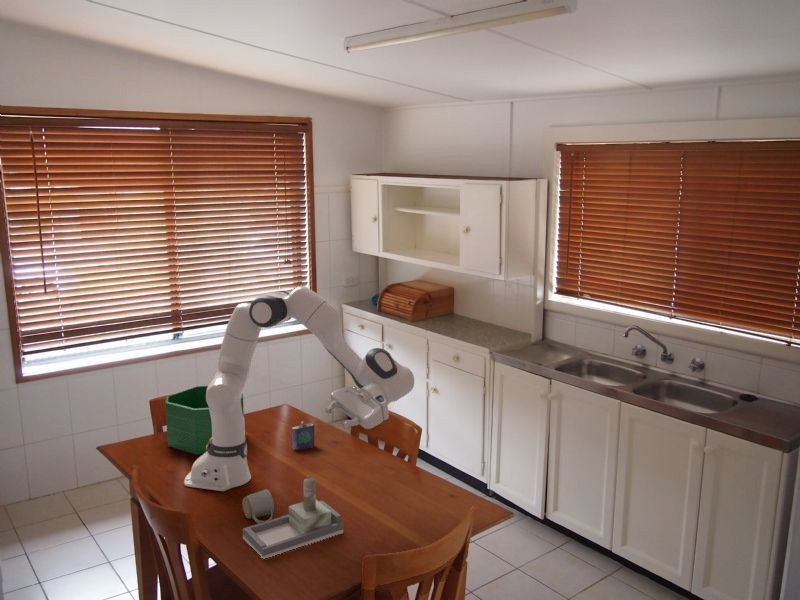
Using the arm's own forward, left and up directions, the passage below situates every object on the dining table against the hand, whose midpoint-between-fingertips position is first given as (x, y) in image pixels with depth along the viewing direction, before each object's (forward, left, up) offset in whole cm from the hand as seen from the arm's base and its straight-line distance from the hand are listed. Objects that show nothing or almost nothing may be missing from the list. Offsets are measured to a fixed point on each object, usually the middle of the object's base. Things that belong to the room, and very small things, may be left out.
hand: (334, 418), depth 213 cm
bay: (-11, -12, -33) cm, 36 cm away
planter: (-61, +59, -33) cm, 91 cm away
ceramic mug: (-23, -1, -33) cm, 41 cm away
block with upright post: (-6, -8, -31) cm, 33 cm away
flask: (-21, +54, -33) cm, 67 cm away
